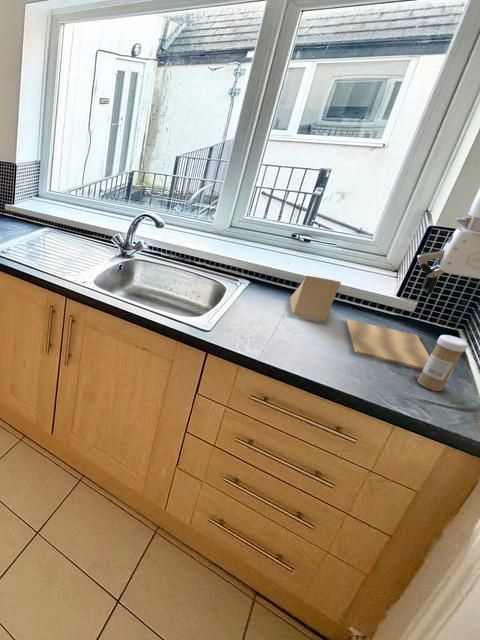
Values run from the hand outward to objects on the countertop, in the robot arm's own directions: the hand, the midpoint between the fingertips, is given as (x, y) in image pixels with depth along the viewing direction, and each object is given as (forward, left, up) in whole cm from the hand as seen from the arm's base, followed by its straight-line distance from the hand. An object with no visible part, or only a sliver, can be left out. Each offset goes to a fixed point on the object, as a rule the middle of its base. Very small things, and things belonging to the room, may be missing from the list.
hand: (456, 297), depth 97 cm
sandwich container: (+22, -29, -23) cm, 43 cm away
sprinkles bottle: (-2, +1, -23) cm, 23 cm away
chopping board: (+4, -16, -23) cm, 29 cm away
